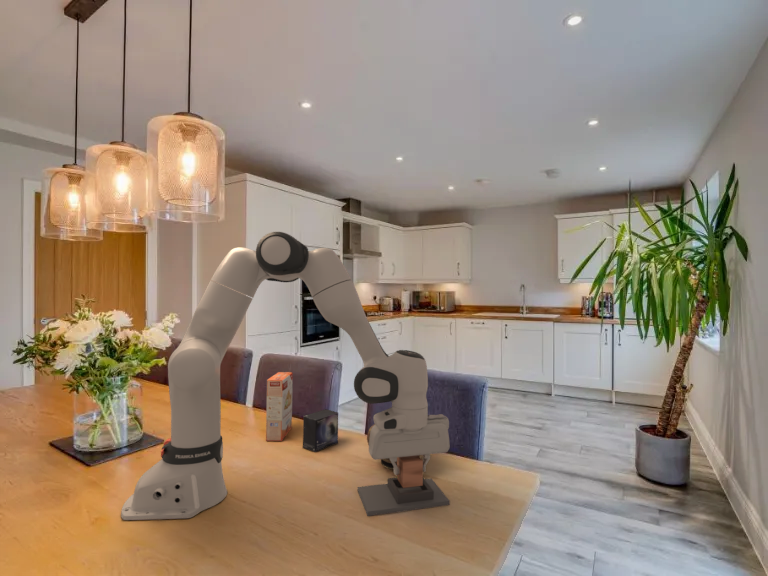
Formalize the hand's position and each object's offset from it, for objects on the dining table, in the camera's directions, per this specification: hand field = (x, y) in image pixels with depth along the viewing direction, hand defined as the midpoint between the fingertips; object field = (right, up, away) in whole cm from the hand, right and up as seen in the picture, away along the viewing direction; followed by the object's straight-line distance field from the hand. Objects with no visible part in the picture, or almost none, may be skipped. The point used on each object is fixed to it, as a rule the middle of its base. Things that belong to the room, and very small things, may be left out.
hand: (409, 472), depth 101 cm
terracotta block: (0, -2, 0) cm, 2 cm away
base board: (-2, -6, -1) cm, 6 cm away
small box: (-27, -6, +33) cm, 43 cm away
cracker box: (-43, -6, +44) cm, 62 cm away
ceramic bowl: (-2, -6, +20) cm, 21 cm away
